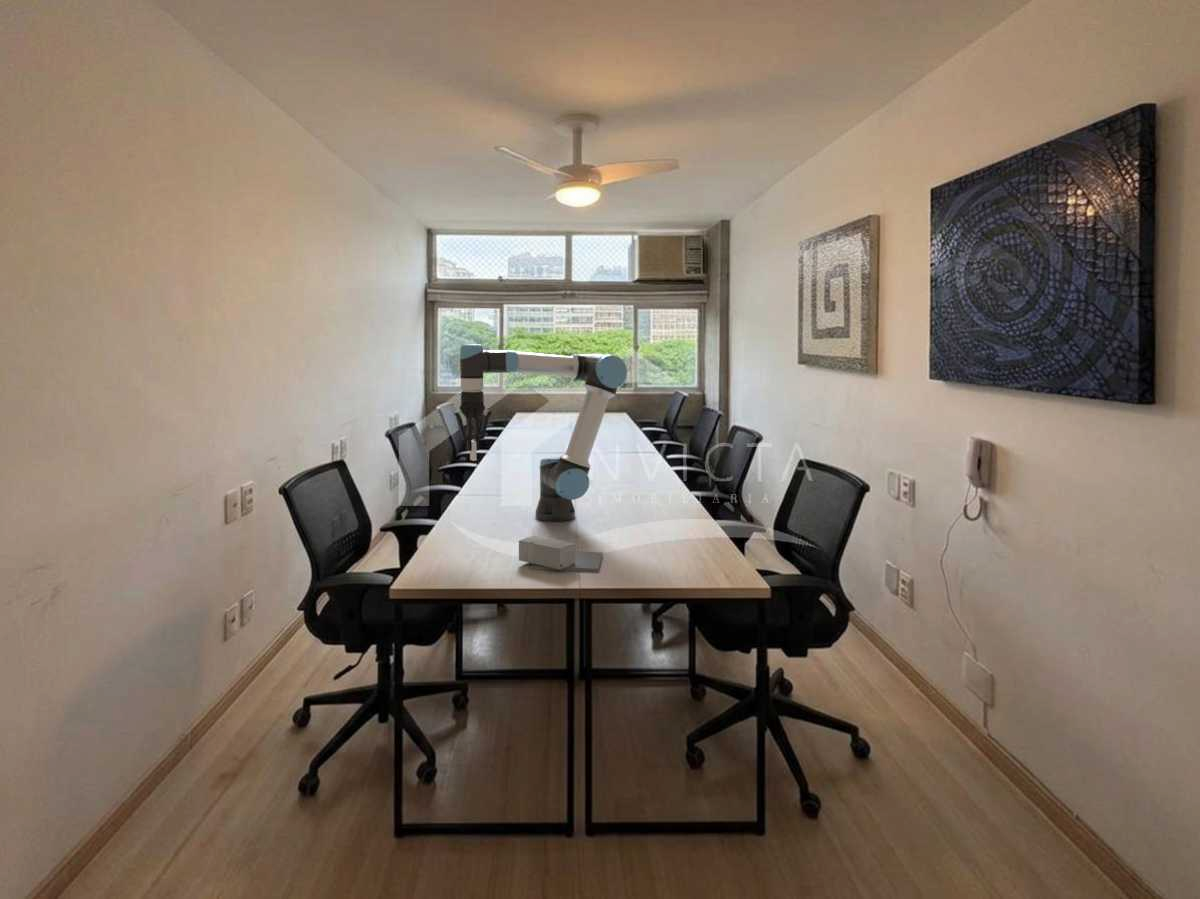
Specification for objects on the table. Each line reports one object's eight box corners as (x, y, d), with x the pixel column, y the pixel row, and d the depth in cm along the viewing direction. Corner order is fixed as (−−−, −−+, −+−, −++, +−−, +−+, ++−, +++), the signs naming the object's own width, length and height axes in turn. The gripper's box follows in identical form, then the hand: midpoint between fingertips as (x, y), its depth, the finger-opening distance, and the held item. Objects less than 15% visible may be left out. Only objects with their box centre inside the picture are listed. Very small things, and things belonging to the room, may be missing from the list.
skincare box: (533, 535, 224) (576, 540, 215) (534, 557, 224) (576, 564, 216) (517, 540, 216) (561, 546, 208) (517, 563, 217) (561, 570, 209)
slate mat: (531, 569, 214) (531, 566, 213) (539, 553, 229) (539, 550, 229) (598, 571, 212) (598, 568, 212) (602, 555, 228) (602, 552, 228)
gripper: (487, 389, 247) (488, 457, 251) (450, 390, 242) (451, 459, 245) (494, 391, 241) (495, 460, 244) (455, 392, 235) (457, 463, 239)
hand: (473, 459), depth 245 cm, fingers closed
